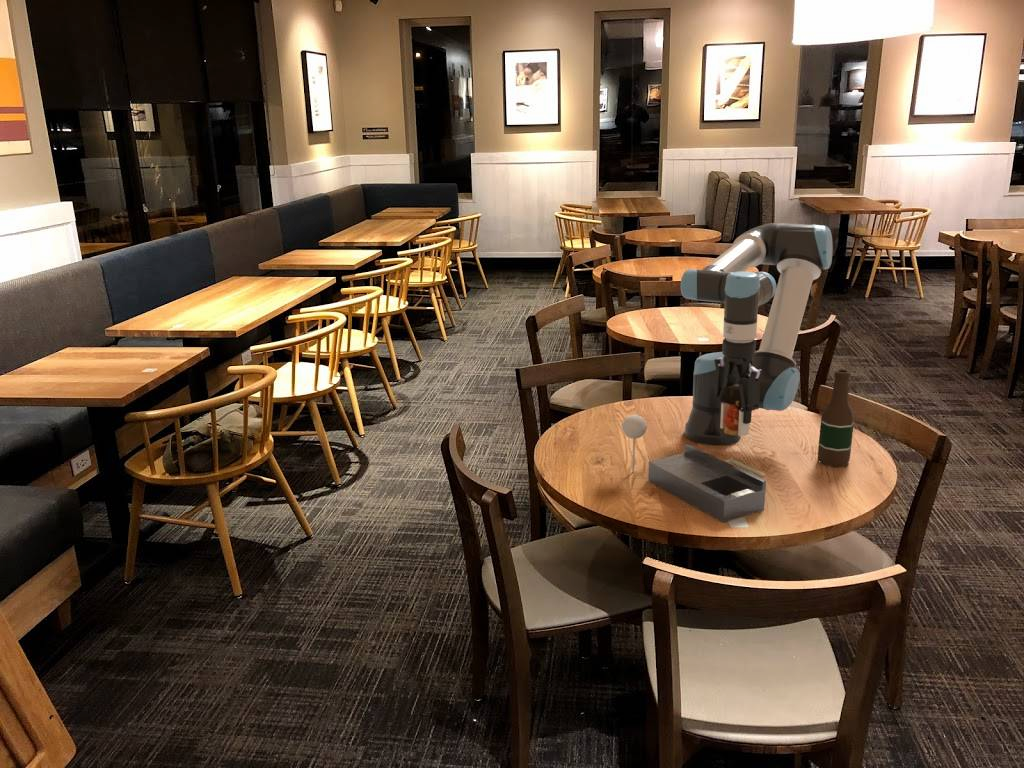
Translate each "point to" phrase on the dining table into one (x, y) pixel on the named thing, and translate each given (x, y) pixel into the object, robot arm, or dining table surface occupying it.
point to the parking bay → (745, 467)
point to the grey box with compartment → (709, 484)
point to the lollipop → (634, 430)
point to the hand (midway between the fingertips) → (734, 430)
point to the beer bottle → (837, 425)
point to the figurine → (732, 408)
